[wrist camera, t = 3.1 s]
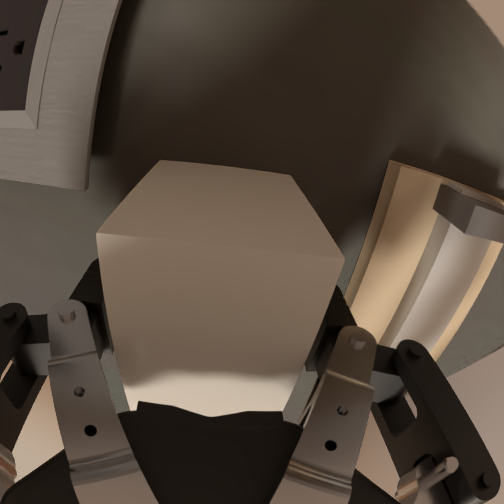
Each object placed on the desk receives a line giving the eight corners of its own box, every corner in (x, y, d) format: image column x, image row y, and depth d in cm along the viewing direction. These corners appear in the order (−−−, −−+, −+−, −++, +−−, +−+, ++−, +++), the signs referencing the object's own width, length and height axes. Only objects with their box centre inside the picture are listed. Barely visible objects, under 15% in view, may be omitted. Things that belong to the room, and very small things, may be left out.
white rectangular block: (255, 331, 15) (268, 439, 10) (158, 322, 15) (136, 429, 9) (290, 175, 11) (345, 258, 6) (160, 159, 11) (95, 232, 5)
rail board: (315, 361, 17) (328, 408, 14) (389, 159, 11) (436, 186, 8) (427, 355, 18) (446, 390, 15) (505, 201, 12) (544, 228, 9)
